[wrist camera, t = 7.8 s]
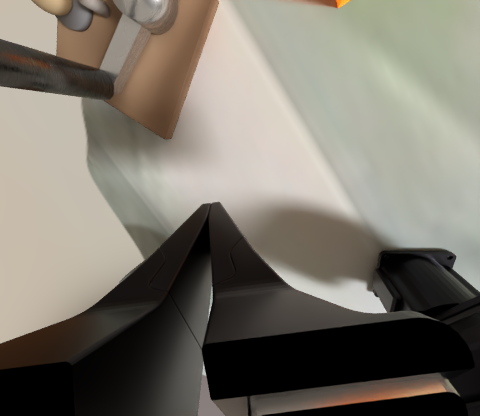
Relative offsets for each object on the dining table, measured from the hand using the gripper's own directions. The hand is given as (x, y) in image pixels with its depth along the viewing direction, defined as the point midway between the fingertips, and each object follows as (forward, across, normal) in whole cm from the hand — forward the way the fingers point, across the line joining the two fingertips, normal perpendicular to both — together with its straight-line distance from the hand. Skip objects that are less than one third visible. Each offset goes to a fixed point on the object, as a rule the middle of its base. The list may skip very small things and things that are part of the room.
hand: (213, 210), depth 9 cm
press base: (+16, +7, -9) cm, 20 cm away
